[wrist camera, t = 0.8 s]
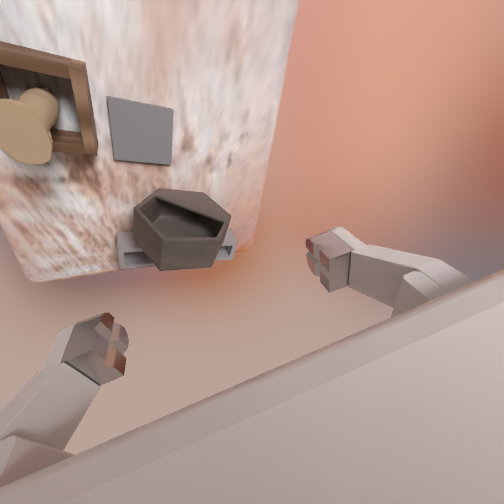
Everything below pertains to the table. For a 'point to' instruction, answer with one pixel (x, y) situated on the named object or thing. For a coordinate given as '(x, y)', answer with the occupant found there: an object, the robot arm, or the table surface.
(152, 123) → the mat
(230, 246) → the tray
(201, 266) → the planter
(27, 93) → the handle
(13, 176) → the table surface
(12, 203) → the table surface
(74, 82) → the block
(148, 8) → the table surface
